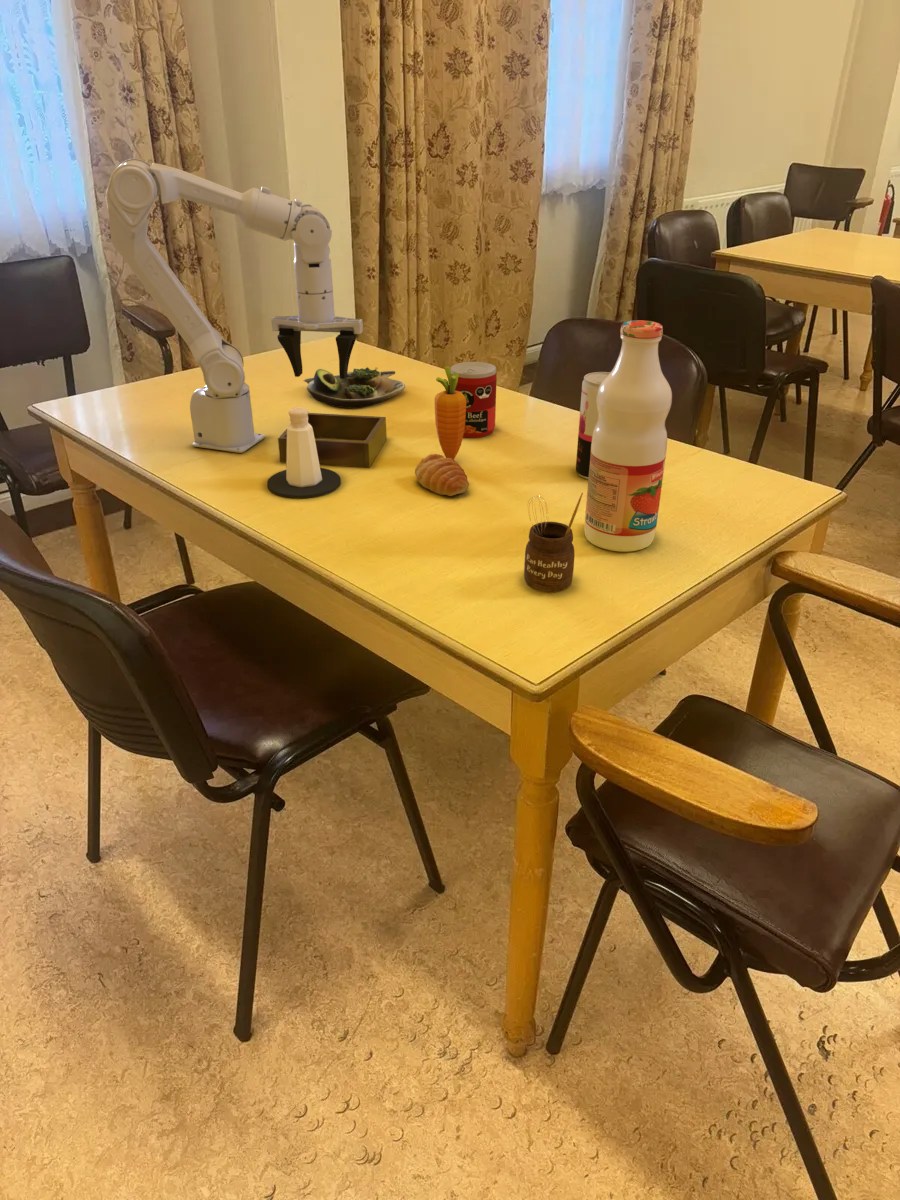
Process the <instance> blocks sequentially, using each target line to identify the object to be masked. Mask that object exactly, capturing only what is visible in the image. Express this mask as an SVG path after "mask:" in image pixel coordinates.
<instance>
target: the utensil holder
mask: <svg viewBox="0 0 900 1200" xmlns="http://www.w3.org/2000/svg"><path fill="white" fill-rule="evenodd" d="M583 495H584V492H581V493H580V496H579V498H578V500H577V503H576V506H575V508H574V511H573V513H572V515H571V518H570V521H569V524H568V525H567V524H565V523H562V522H558V521H548V517H546V520H545V521H542V519H543V518H540V520H541V521H540V522H537V521H538V518H537V517H538V516H533V519H534V521H535V524H534V523H533V522H532V518H531V515H528V517H529V521H530V523H531V525H532V526H531V527H530V529H529V533H528V542H527V544H526V546H525V550H524V565H523V566H524V567H523V577H524V581H525V584H526V585H527V586H528V587H530V588H531V589H532V590H535V591H538V592H542V593H559V592H562V591H564V590H566V589H568V588H569V587H570V586H571V584H572V581H573V579H574V578H573V577H574V569H575V568H574V567H575V555H576V554H575V546H574V544H573V541H574V534H573V529H572V527H573V526H572V525H573V522H574V520H575V518H576V516H577V513H578V510H579V506H580V504H581V500H582V497H583ZM536 498H537V499H538V505H539V506H541V508H539V513H542V514H543V517H545V513H544V512H542V510H544V509H543V504H542V503H541V500H540V498H541V499H542V500H543V501H544V505H545V507H548V504H547V501H546V500H545V498H544V497H542V496H541V495H534V496H532V497H531V499H530V500H529V501H527V504H528V507H530V505H531V507H532V509H534V506H533V504H531V503H532V502H533V500H536ZM541 509H542V510H541ZM545 509H546V513H548V512H549V510H548V508H545ZM527 512H528V514H531V510H530V509H527ZM532 513H533V515H535V514H537V511H536V509H534V511H532ZM534 513H535V514H534Z"/></svg>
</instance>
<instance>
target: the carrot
mask: <svg viewBox="0 0 900 1200" xmlns="http://www.w3.org/2000/svg"><path fill="white" fill-rule="evenodd" d="M444 371H445V375H446V377H447V379H445V378H442V377H440V376H437V377H436V378H435V381H436V382H438V383H440V384H441V385H442V386H443V387H444V390H442V391H440V392H437V394H435V396H434V418H435V429H436V433H437V438H438V443H439V445H440V448H441V451H442V453H443V456H444V457H445V458H452V459H453V460H454V461H455V458H456V457H457V455H458V453H459V450H460V448H461V447H462V442H463V438H464V437H463V434H464V429H465V418H466V399H465V397H464V395H463V394H462V393H461V392H459V391H455V388H456V385H457V382H458V374H459V373H458V372H455V374H454V375H453V376H452V373H451V367H450V366H449V365H448V366H447V365H446V366H445V367H444Z"/></svg>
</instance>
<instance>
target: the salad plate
mask: <svg viewBox="0 0 900 1200" xmlns="http://www.w3.org/2000/svg"><path fill="white" fill-rule="evenodd" d="M395 374H396V371H395V370H385V371H383V370H382V371H379V370H378V367H374V369H370V367H366V368H353V370H352V371H348V372H347V376H346V378H345V379H340V374H336V375H334V374H333V373H331V372H330V371H328V370H326V369H322V368H319V369H317V370H316V371H315V373H314V375H313V377H309V378H305V379H304V380H303V382H304V383H307V385H306V389H307V391H308V394H310V395H311V397H312V398H313V399H314V400H317V401H319V402H321V403H323V404H325V405H329V406H332V407H337V408H343V409H344V408H345V409H356V408H363V407H364V408H365V407H369V406H371V405H375V404H378V403H382V402H384V401H387V400H389V399H390V398H391V399H392V398H393V397H396V396H397V395H399V394H400V393H401V392H403V391H404V390H405V388H406V385H405V383H404V382H403V381H400V380H398V379H393V378H389V377H391V376H394V375H395Z"/></svg>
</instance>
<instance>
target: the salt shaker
mask: <svg viewBox="0 0 900 1200" xmlns="http://www.w3.org/2000/svg"><path fill="white" fill-rule="evenodd" d="M308 413H309V410H308V409H307V408H305V407H298V406H297V407H292V408H290V409H289V410H288V415H289V422H290V423H289V425H288V426H287V427H286V429H287V462H286V467H285V470H286V480H287V481H288V483H289V485H291V486H297V487H308V486H315V485H316V484H318V483H319V482H320V481H322V475H321V470H320V468H321V464H319V459H318V454H317V448H316V443H315V439H316V437H314V432H313V428H312V426H311V425H310V424H309V423H308Z"/></svg>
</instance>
